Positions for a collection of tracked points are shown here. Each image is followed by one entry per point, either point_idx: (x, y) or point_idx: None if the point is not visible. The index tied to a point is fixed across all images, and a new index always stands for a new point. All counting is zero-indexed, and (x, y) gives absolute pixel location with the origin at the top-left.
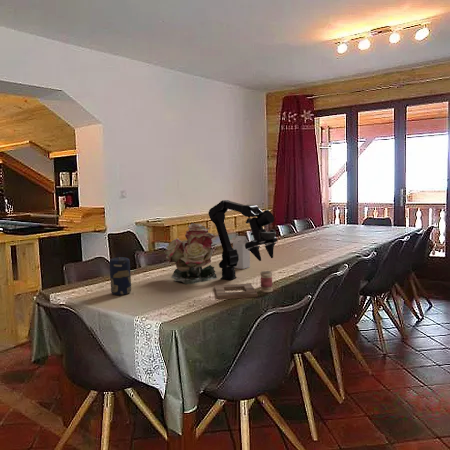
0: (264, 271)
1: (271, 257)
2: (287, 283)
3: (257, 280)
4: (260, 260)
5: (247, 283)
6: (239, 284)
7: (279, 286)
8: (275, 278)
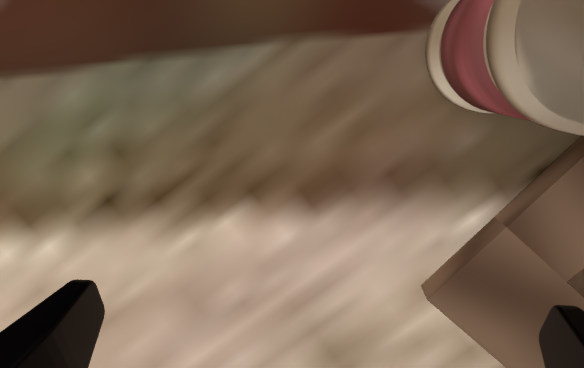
0: (577, 93)
1: (97, 315)
2: (106, 65)
3: (204, 362)
4: (577, 314)
5: (452, 318)
6: (531, 355)
7: (257, 54)
8: (35, 280)
